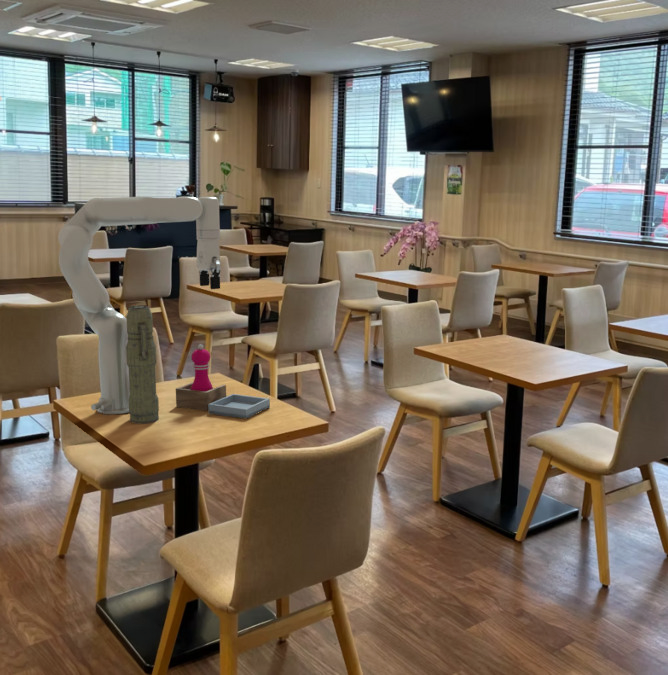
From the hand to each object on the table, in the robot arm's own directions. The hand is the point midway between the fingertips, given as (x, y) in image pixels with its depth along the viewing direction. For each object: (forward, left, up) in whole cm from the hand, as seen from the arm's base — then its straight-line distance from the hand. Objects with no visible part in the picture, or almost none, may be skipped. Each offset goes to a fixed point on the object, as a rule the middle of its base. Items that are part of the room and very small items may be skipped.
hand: (209, 287), depth 266 cm
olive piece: (-32, +4, -38) cm, 49 cm away
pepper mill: (-10, -3, -38) cm, 39 cm away
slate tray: (-11, -18, -37) cm, 43 cm away
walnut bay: (-10, -3, -37) cm, 39 cm away
